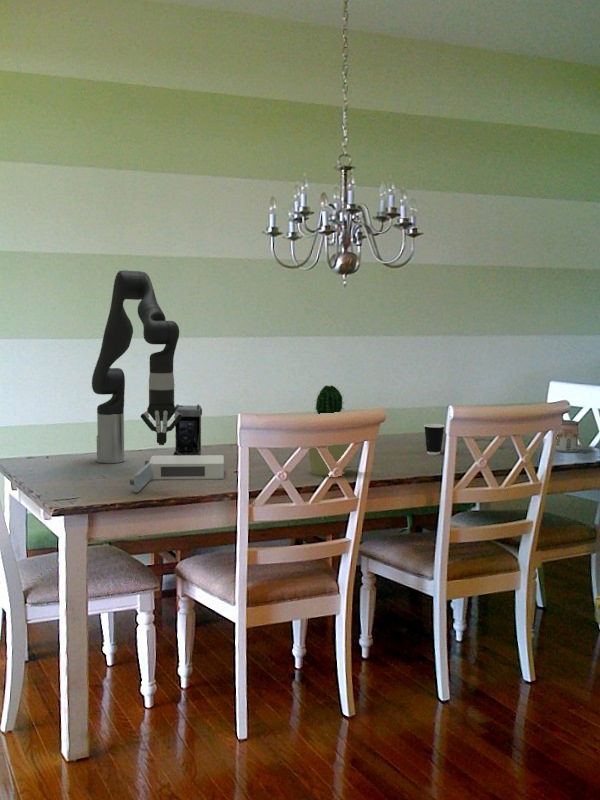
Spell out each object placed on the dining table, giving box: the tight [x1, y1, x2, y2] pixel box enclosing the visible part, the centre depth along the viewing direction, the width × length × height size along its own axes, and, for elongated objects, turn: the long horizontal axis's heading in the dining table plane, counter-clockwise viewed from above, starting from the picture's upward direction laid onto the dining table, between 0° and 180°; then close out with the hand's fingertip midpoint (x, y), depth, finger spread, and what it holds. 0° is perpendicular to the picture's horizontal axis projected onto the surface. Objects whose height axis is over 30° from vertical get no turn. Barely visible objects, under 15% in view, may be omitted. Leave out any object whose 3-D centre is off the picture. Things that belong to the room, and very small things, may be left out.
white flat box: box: [144, 454, 225, 481], centre depth 286 cm, size 26×16×5 cm, turn 95°
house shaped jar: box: [555, 419, 580, 454], centre depth 340 cm, size 9×8×12 cm
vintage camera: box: [172, 404, 203, 456], centre depth 311 cm, size 10×16×20 cm, turn 2°
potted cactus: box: [308, 384, 350, 477], centre depth 290 cm, size 15×15×30 cm
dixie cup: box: [423, 423, 446, 456], centre depth 331 cm, size 8×8×11 cm
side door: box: [129, 463, 154, 493], centre depth 266 cm, size 21×3×5 cm, turn 179°
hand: (161, 444), depth 262 cm, fingers closed
